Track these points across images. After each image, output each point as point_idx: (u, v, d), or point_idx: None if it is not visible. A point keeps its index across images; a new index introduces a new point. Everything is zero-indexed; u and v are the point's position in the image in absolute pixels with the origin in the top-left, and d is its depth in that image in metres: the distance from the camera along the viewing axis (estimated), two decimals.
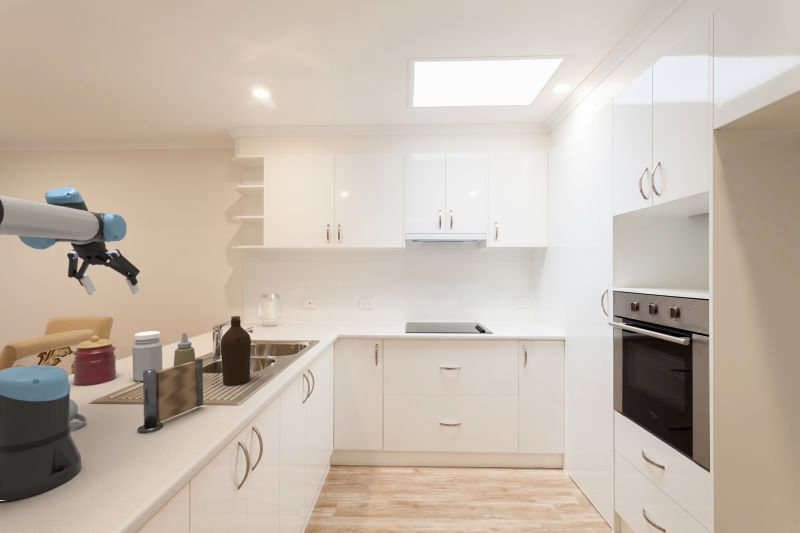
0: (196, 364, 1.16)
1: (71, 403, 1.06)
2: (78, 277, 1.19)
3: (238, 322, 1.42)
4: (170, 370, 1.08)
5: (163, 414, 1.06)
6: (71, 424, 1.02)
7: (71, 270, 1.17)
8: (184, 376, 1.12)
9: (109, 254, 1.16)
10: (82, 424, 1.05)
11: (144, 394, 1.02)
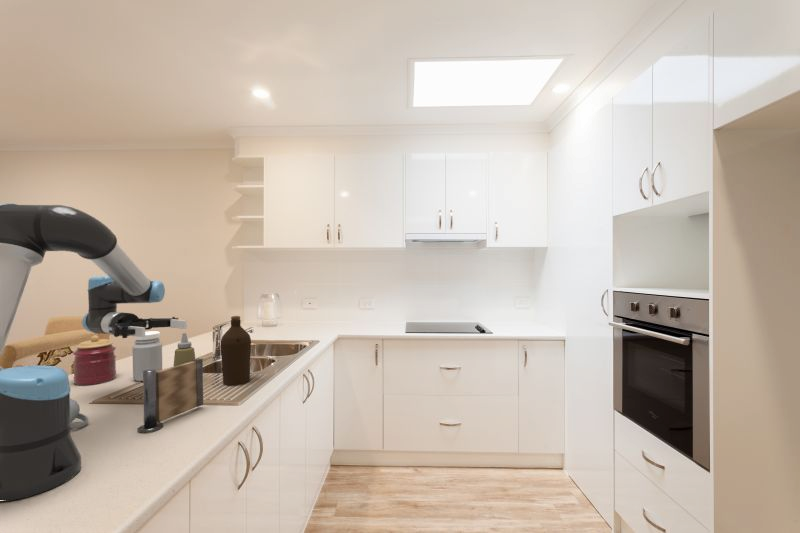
0: (196, 364, 1.16)
1: (73, 403, 1.07)
2: (125, 326, 1.12)
3: (238, 322, 1.42)
4: (170, 370, 1.08)
5: (163, 414, 1.06)
6: (73, 424, 1.03)
7: (116, 326, 1.13)
8: (184, 376, 1.12)
9: (147, 321, 1.27)
10: (84, 424, 1.05)
11: (144, 394, 1.02)
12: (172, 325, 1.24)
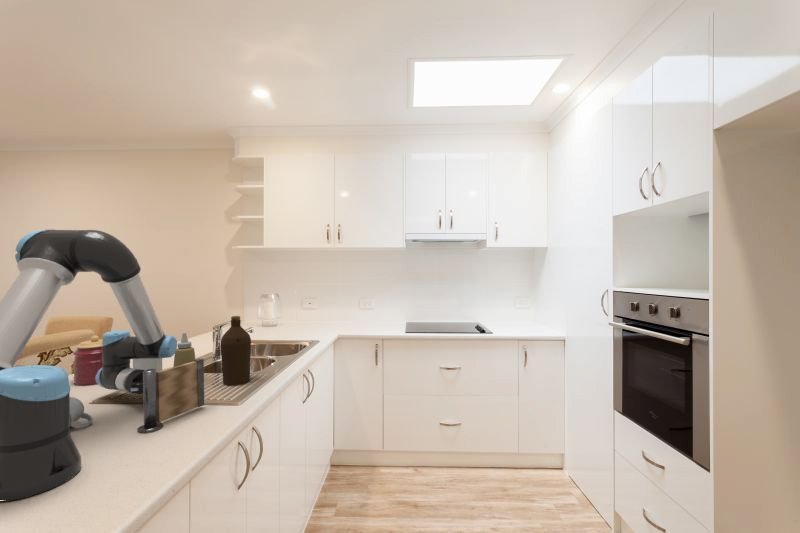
0: (197, 364, 1.16)
1: (78, 402, 1.07)
2: None
3: (238, 322, 1.42)
4: (170, 370, 1.08)
5: (163, 414, 1.06)
6: (78, 423, 1.03)
7: None
8: (185, 376, 1.12)
9: None
10: (89, 423, 1.05)
11: (144, 394, 1.02)
12: None
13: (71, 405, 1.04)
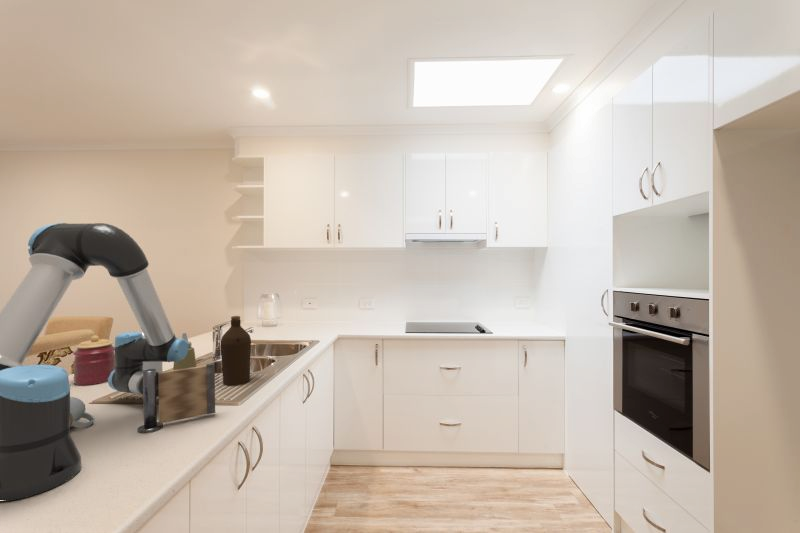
0: (206, 369, 1.10)
1: (79, 402, 1.07)
2: None
3: (238, 322, 1.42)
4: (173, 372, 1.06)
5: (164, 416, 1.05)
6: (79, 423, 1.03)
7: None
8: (190, 380, 1.08)
9: None
10: (90, 423, 1.05)
11: (144, 394, 1.02)
12: None
13: (72, 405, 1.04)
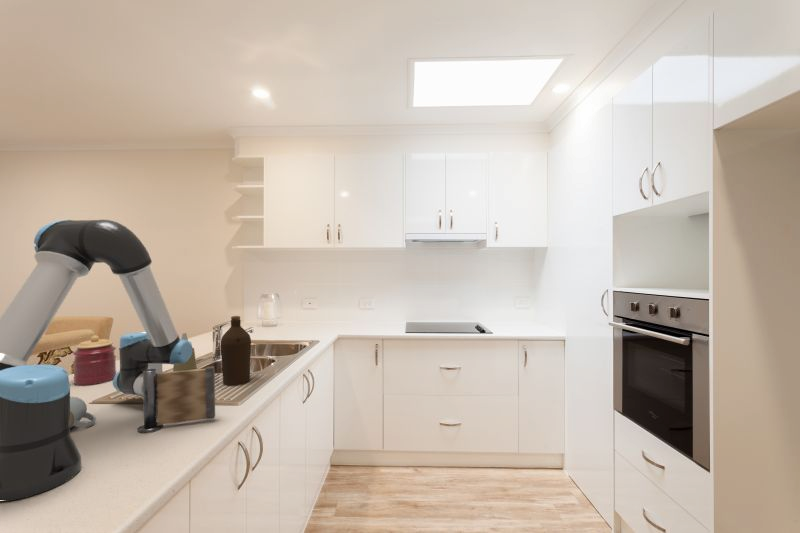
0: (205, 372, 1.07)
1: (80, 402, 1.07)
2: None
3: (238, 322, 1.42)
4: (172, 374, 1.04)
5: (163, 417, 1.04)
6: (80, 423, 1.03)
7: None
8: (189, 383, 1.06)
9: None
10: (91, 423, 1.05)
11: (144, 394, 1.02)
12: None
13: (74, 405, 1.04)
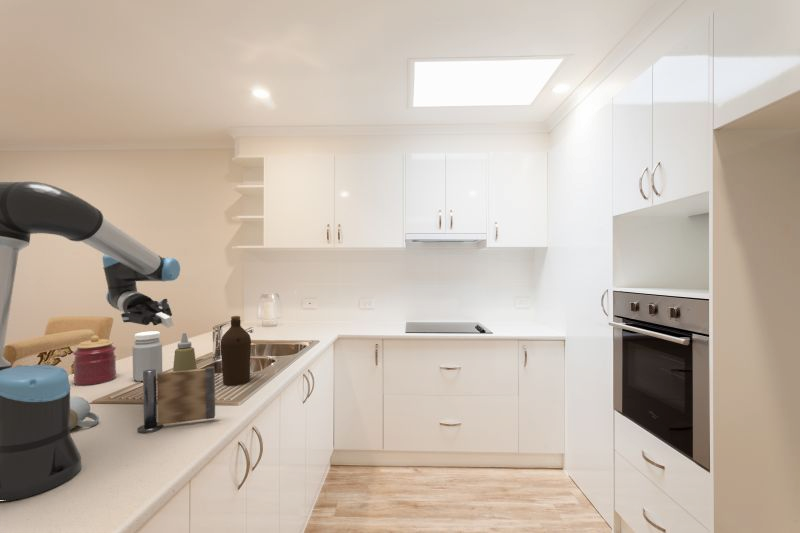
0: (205, 373, 1.07)
1: (84, 401, 1.07)
2: (152, 313, 1.08)
3: (238, 322, 1.42)
4: (171, 374, 1.04)
5: (163, 418, 1.04)
6: (84, 422, 1.03)
7: (139, 315, 1.08)
8: (189, 383, 1.06)
9: (159, 302, 1.18)
10: (95, 422, 1.06)
11: (144, 394, 1.02)
12: None
13: (77, 404, 1.05)
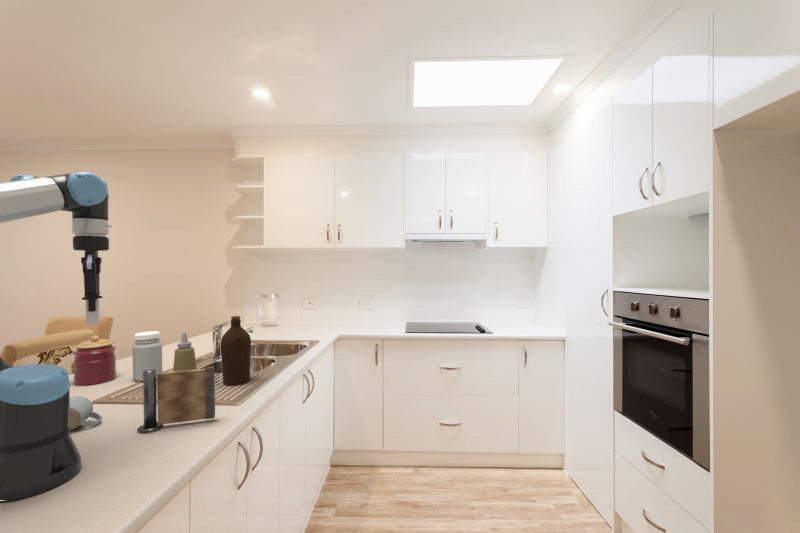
0: (205, 373, 1.07)
1: (87, 401, 1.08)
2: None
3: (238, 322, 1.42)
4: (171, 374, 1.04)
5: (163, 418, 1.04)
6: (87, 422, 1.04)
7: None
8: (189, 383, 1.06)
9: (87, 260, 0.97)
10: (98, 422, 1.06)
11: (144, 394, 1.02)
12: None
13: (80, 404, 1.05)
